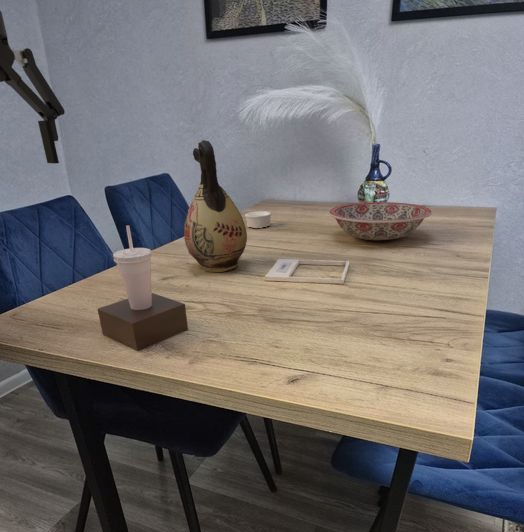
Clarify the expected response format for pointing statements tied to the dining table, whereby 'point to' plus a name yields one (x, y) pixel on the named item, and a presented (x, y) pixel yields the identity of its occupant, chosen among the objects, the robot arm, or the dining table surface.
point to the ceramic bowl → (379, 219)
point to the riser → (143, 321)
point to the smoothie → (135, 274)
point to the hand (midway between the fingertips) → (12, 167)
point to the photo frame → (288, 266)
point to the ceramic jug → (213, 219)
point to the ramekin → (258, 219)
